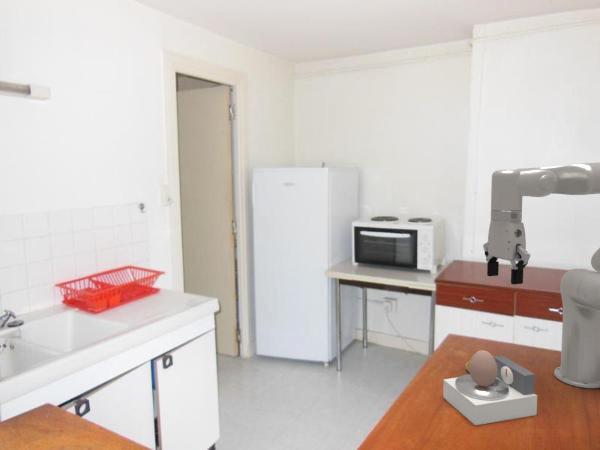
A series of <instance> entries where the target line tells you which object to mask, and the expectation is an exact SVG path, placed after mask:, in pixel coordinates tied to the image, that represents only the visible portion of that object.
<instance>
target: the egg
mask: <svg viewBox="0 0 600 450" xmlns="http://www.w3.org/2000/svg"><path fill="white" fill-rule="evenodd" d="M493 357H494V355H492V354H491V353H490V352H489V351H487V350H486V349H485V350H483V349H482V350H478V351H476V352H475V353H474V354H473V355H472V357H471V359H470V360H471V361H470V360H469V361H470V365H469V372H470V373H469V372H468V373H469V374H470V375H471V378H472V379H473V381H474V382H475V383H476V384H478V385H480V386H483V387H485V386H489V385H491V384H492V383H493V382H494V381H495V380H496V378H497V372H498V371H497V364H496V362H495V359H494V358H493Z"/></svg>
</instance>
